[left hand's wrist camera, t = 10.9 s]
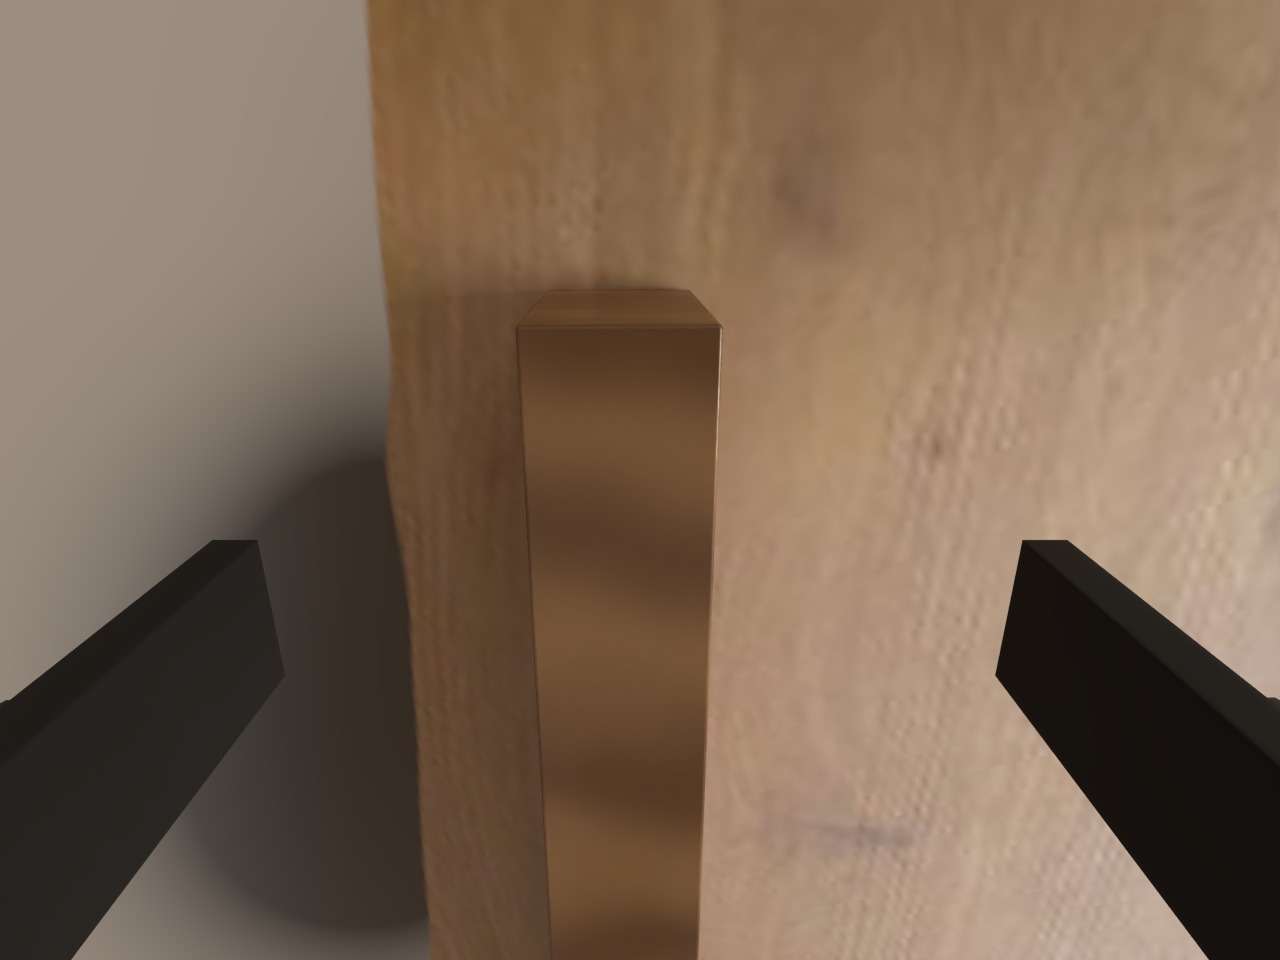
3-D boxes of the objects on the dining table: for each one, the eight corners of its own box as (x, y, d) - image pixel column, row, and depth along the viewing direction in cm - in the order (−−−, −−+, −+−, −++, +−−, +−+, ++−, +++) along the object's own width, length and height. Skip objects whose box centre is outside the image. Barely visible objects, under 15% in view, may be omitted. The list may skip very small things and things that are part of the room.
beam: (547, 290, 26) (514, 325, 18) (691, 289, 26) (723, 324, 18) (584, 1200, 43) (577, 1420, 35) (669, 1197, 44) (680, 1416, 36)
